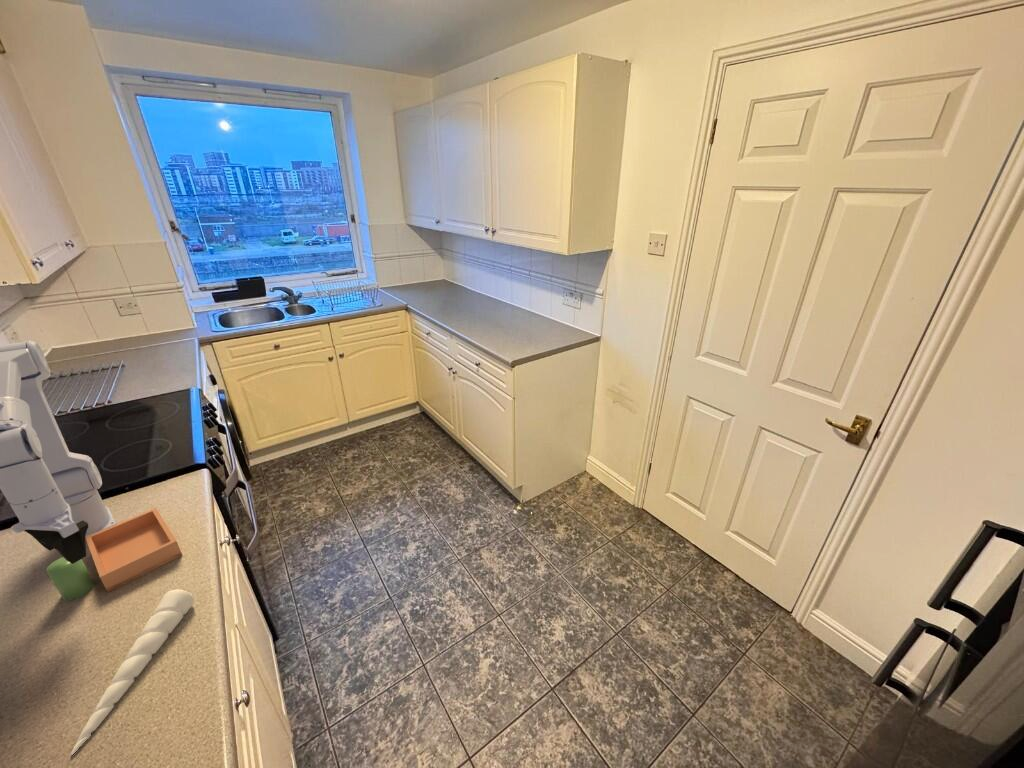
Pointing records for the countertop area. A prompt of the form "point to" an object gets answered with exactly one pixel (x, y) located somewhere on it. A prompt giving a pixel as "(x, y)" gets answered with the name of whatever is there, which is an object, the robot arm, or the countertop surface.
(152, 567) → the terracotta bin
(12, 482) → the robot arm
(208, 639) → the countertop surface
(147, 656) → the unicorn horn
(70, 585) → the cucumber piece
